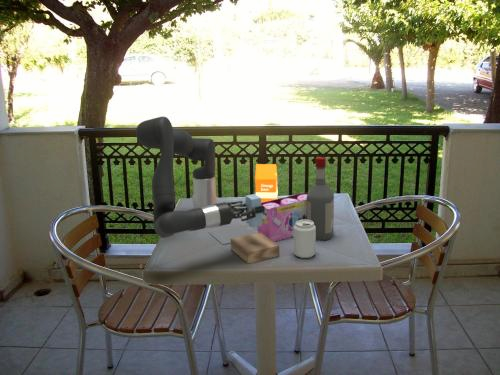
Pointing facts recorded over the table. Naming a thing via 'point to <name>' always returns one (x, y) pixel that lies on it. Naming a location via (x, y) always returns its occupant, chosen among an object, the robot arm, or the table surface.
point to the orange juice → (266, 182)
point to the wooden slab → (254, 247)
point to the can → (304, 238)
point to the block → (251, 203)
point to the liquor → (321, 203)
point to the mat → (229, 234)
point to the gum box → (283, 216)
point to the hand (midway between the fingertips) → (260, 206)
